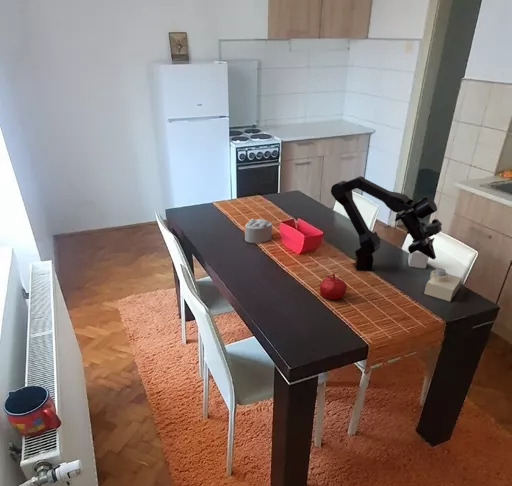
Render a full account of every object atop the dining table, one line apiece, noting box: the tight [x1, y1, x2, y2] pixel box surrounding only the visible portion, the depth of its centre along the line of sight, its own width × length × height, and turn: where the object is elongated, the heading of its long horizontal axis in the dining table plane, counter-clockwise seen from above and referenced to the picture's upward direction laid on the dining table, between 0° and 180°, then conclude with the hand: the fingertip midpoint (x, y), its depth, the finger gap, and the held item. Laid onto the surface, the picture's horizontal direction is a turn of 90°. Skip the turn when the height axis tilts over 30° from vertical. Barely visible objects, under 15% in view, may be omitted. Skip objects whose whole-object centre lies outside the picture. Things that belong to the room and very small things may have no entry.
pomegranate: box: [319, 272, 348, 301], centre depth 176 cm, size 10×10×9 cm
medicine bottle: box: [407, 251, 430, 269], centre depth 202 cm, size 7×7×12 cm
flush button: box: [435, 267, 447, 276], centre depth 182 cm, size 4×4×2 cm
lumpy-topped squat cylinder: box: [244, 218, 273, 244], centre depth 221 cm, size 10×13×9 cm
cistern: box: [424, 269, 463, 302], centre depth 183 cm, size 11×13×7 cm
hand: (434, 258), depth 181 cm, fingers closed
